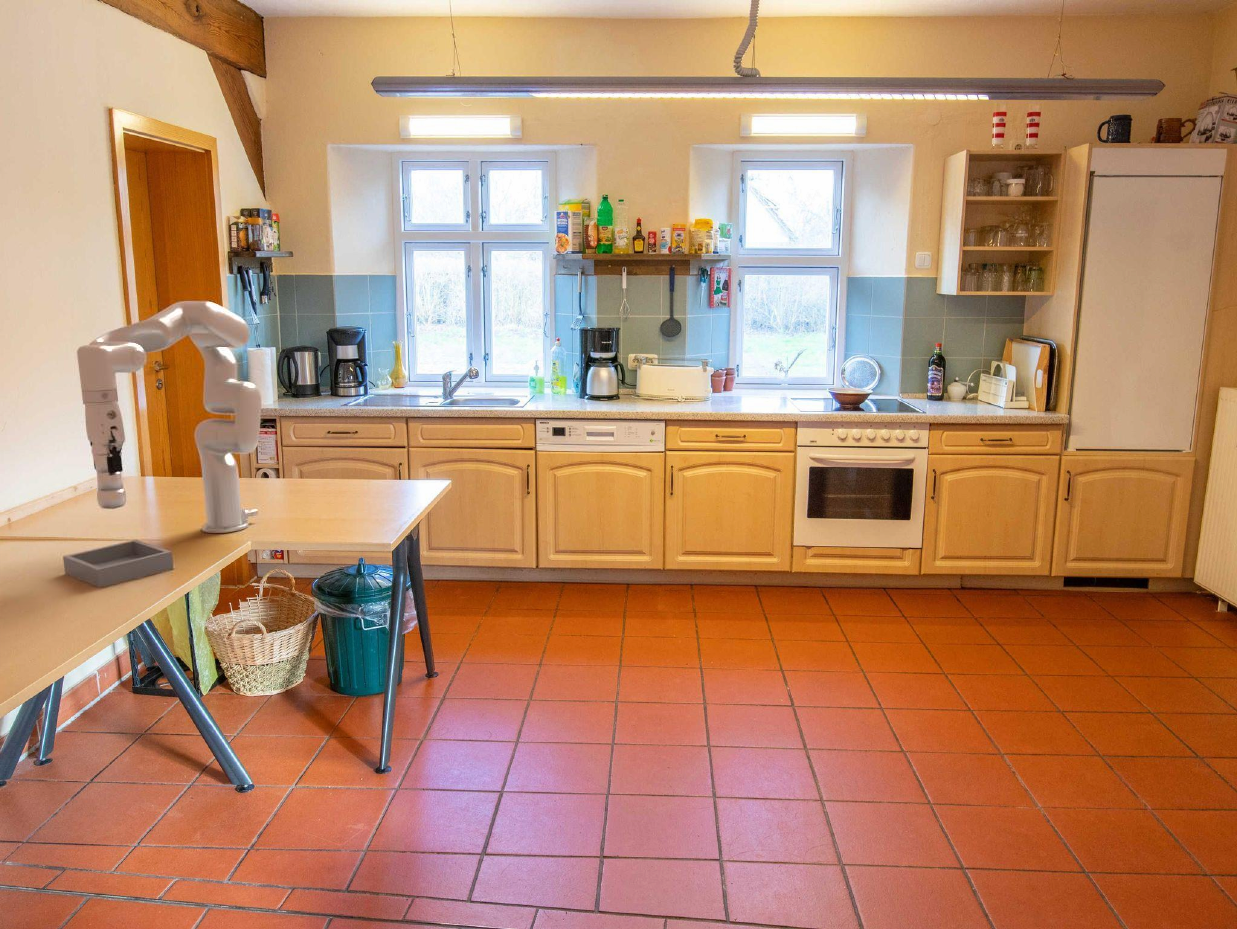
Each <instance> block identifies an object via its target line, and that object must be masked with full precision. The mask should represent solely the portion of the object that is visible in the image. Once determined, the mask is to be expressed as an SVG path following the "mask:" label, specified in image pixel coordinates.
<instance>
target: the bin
mask: <svg viewBox="0 0 1237 929" xmlns="http://www.w3.org/2000/svg"><path fill="white" fill-rule="evenodd" d="M62 561H63V567H64V574H65V575H67V576H69V577H72V578H74V577H75V578H74V579H77V580H79V581H81V580H82V582H83V583H86V582H87V583H86V584H89V583H90V584H89V585H92V586H93V585H94V587H96V588H99V589H102V588H106V587H110V586H112V585H117V584H116V583H118V584H121V582H122V583H124V582H125V583H126V582H130V581H132V580H136V579H140V578H139V577H141V578H144V576H145V577H148V575H149V576H152V575H156V574H159V573H158V572H160V573H163V572H162V571H164V572H167V570H168V571H171V570H170V569H172V570H174V569H175V568H174V560H173V551H171V550H167V549H166V548H161V547H159V546H157V545H153V544H150V543H147V542H145V541H144V542H143V541H140V540H137V539H133V540H129V541H125V542H119V543H116V544H112V545H111V544H110V545H107V546H103V547H98V548H94V549H89V550H85V551H81V552H76V553H72V554H67V555H64V556H62ZM155 573H156V574H155ZM151 574H152V575H151Z"/></svg>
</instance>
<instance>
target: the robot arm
mask: <svg viewBox="0 0 1237 929" xmlns="http://www.w3.org/2000/svg"><path fill="white" fill-rule="evenodd" d="M250 334H251V333H250V328H249V326H248V324H247V322H246V321H245V320H244V319H243V318H242V317H240V316H239V315H237V314H236V313H234V312H232V311H230V310H229V309H226V308H225V307H223V306H221V305H219V304H217V303H214V302H213V301H207V300H206V301H205V300H201V301H200V300H185V301H183V300H182V301H178V302H174V303H173V304H171V305H170V306H168V307H166V308H164V309H163V310H161V311H159V312H158V313H156V314H154V315H153V316H150V317H149V318H147V319H145V320H140V321H137V322H134V323H132V324H129V325H126V326H122V327H119V328H116V329H114V330H110V331H109V332H106V333H104V334H101V335H100V336H98V337H97V338H96V339H93V340H92V341H91V342H90V343H88V344H87V345H86V344H85V345H82V346H79V347H78V349H77V351H76V355H77V356H76V357H77V364H78V373H79V374H78V375H79V381H80V389H81V397H82V398H81V399H82V404H83V405H84V412H85V413H84V417H85V418H84V419H85V429H86V435H87V440H88V441H89V443H90V444H89V445H90V446H91V448H92V446H93V444H94V442H95V441H97V442H98V443H99V444H102V445H105V447H106V450H107V454H108V456H109V457H107V466H108V472H109V473H116V472H121V473H122V472H123V460H122V449H123V445H124V443H125V442H126V435H125V428H124V421H123V417H122V413H121V409H120V408H121V407H120V405H119V398H118V397H119V396H118V388H117V387H118V386H117V379H116V378H117V377H116V374H118V373H120V374H121V373H123V374H124V373H127V374H128V373H129V374H130V373H132V374H133V373H135V372H138V371H141V370H142V368H143V367H144V366H145V364H146V362H147V354H148V353H154V352H159V351H165V350H166V349H168V348H170V347H172V346H173V345H174V344H176V343H177V342H179V341H180V340H182V339H184V338H185V337H187V336H188V337H189V338H190V339H189V340H191V341H192V344H194V345H195V347H196V348H197V349H198V350H199V352H200V354H201V356H202V359H203V361H204V377H203V378H204V379H203V396H202V398H203V399H202V401H203V407H204V409H205V410H206V411H207V412H209V413H211V414H214V415H215V414H216V415H231V416H233V415H234V419H231V418H227V419H226V418H208V419H205V420H203V421H201V422H199V423H198V424H197V425H196V427H195V430H194V440H195V445H196V448H197V450H198V454H199V455H198V456H199V459H200V465H201V466H200V467H201V473H202V474H201V475H202V483H203V484H202V486H203V495H204V496H203V497H204V505H205V506H204V507H205V516H206V522H205V523H203V524H202V525H201V531H202V532H204V533H208V534H224V533H225V534H226V533H232V532H233V533H234V532H237V531H238V532H239V531H241V530H245V529H247V528H248V527H249V526H250V523H249V520H248V519H249V518H250V517H255V516H258V515H259V512H258V511H259V510H257V509H256V508H253V509H242V498H241V490H240V489H241V488H240V477H239V467H238V463H237V460H236V459H235V457H234V455H233V454H237V455H240V454H241V455H247V454H251V453H252V452H254V451H255V450H256V448H257V446H258V444H259V439H260V432H261V431H260V430H261V416H262V396H261V393H260V390H259V388H258V387H257V385H256V384H254V383H253V382H250V381H246V380H245V381H244V380H238V362H237V359H236V357H235V355H234V353H233V352H232V351H231V349H239V348H242V347H245V345H246V344H247V343H248V341H249V340H250V339H249V338H250ZM111 441H114V443H109V442H111ZM112 446H113V447H112ZM110 447H112V450H111V448H110ZM92 459H93V458H92ZM93 465H94V466H93V467H94V468H93V469H94V470H96V466H95V462H94V459H93Z"/></svg>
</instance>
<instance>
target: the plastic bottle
mask: <svg viewBox="0 0 1237 929" xmlns="http://www.w3.org/2000/svg"><path fill="white" fill-rule="evenodd" d="M109 443H114V441H111V442H109ZM112 447H113V446H112ZM112 447H110V448H111V450H112ZM90 451H91V454H92V459H94V460H93V463H94V462H95V466H96V469H95V471H96V478H97V479H96V480H97V490H96V491H97V492H96V500H97V504H98V506H99V507H100V508H101V509H103V510H104V509H105V510H106V509H107V510H114V509H118V508H122V507H124V506H125V505H126V503H127V497H128V496H127V493H126V489H125V488H124V483H123V482H124V481H123V478H122V472H116V473H109V472H108V466H107V457H109V456H108V454H107V450H106V447H105V445H102V444H99V443H98V442H97V441H95V442H94V444H93V446H92V447H91V450H90Z"/></svg>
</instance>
